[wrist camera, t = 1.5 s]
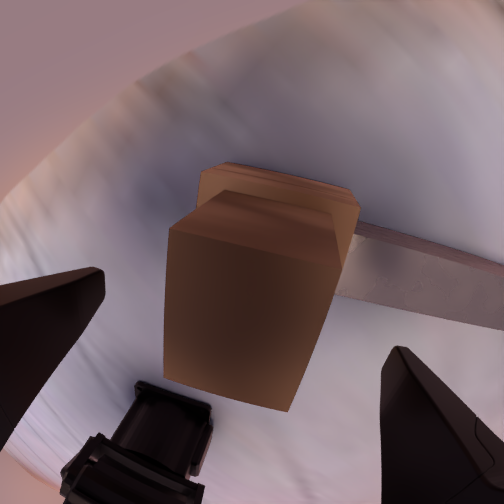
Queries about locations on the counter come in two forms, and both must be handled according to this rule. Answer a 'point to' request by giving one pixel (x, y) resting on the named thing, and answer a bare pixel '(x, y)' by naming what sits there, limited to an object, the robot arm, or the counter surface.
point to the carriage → (253, 281)
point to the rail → (422, 277)
